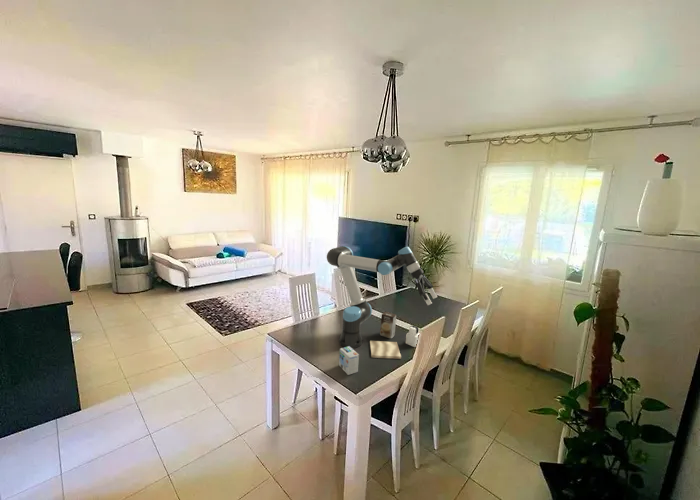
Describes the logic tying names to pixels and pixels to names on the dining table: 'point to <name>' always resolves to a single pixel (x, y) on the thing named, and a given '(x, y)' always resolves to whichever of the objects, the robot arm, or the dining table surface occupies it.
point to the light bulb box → (348, 360)
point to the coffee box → (388, 324)
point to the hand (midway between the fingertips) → (432, 301)
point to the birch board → (384, 349)
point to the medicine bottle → (412, 336)
